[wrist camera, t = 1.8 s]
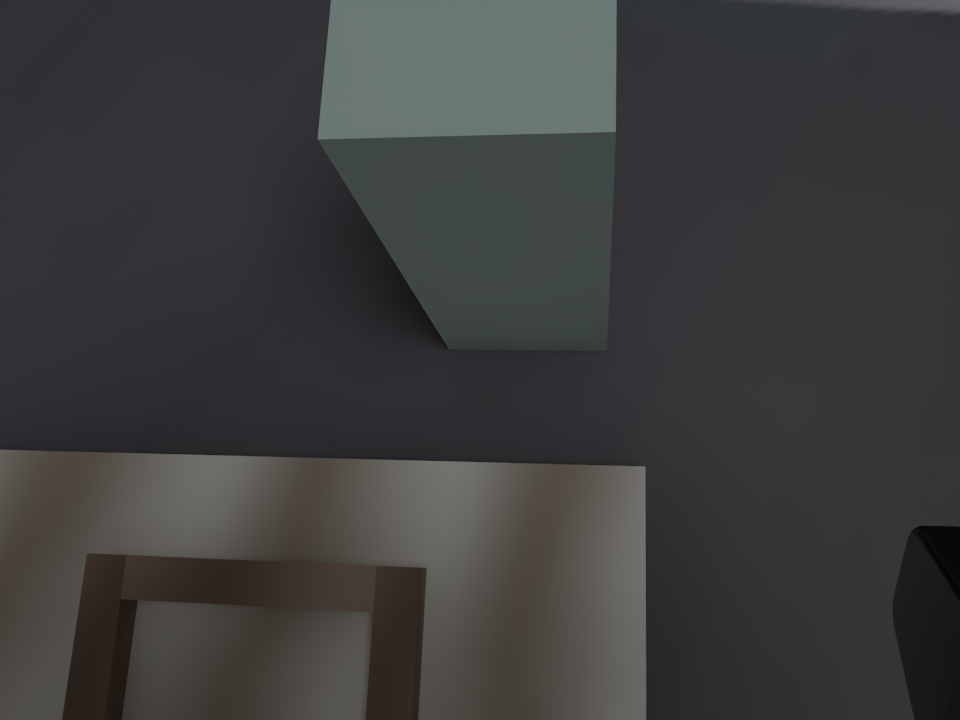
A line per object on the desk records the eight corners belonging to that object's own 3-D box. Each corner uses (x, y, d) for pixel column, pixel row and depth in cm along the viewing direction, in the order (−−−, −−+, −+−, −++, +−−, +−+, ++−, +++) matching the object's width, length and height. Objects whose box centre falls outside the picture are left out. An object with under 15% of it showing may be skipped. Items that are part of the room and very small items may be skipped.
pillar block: (608, 203, 23) (617, -126, 12) (606, 351, 22) (615, 131, 11) (457, 205, 23) (341, -108, 13) (449, 349, 22) (317, 139, 12)
